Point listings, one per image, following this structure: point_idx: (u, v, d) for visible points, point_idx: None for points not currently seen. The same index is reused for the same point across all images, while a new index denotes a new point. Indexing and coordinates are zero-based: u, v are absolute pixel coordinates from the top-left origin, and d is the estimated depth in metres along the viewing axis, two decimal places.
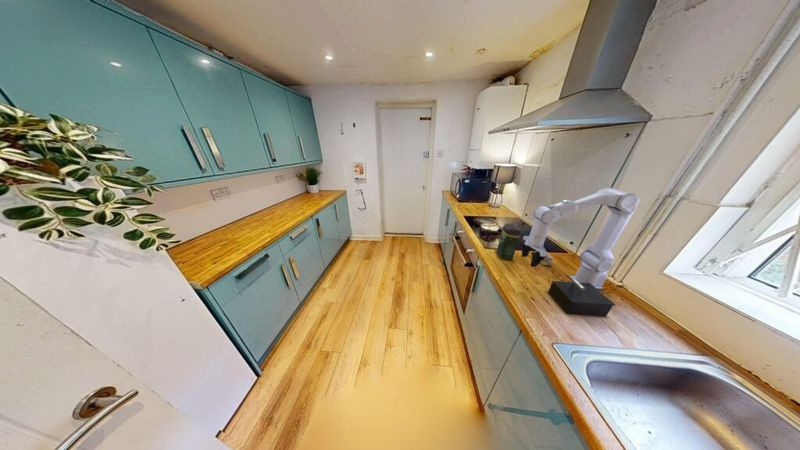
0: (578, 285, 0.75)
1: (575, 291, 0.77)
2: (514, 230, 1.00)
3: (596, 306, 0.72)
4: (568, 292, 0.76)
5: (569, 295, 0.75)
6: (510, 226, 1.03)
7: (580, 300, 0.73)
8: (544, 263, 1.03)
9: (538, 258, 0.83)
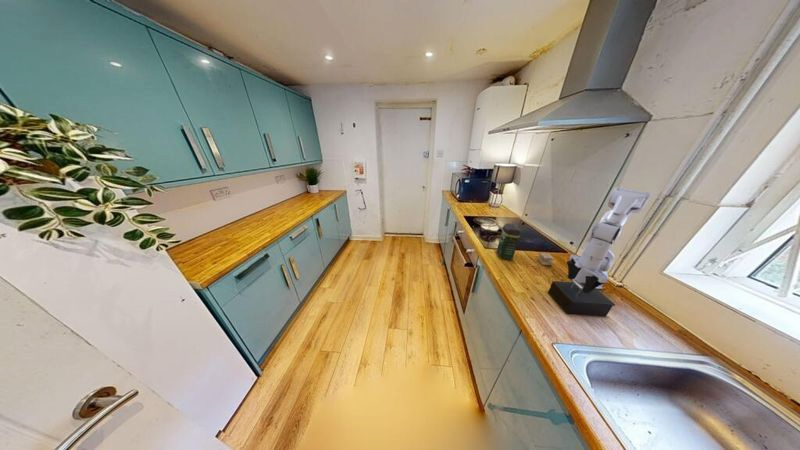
0: (578, 285, 0.75)
1: (575, 291, 0.77)
2: (514, 230, 1.00)
3: (596, 306, 0.72)
4: (568, 292, 0.76)
5: (569, 295, 0.75)
6: (510, 226, 1.03)
7: (580, 300, 0.73)
8: (544, 263, 1.03)
9: (593, 283, 0.70)
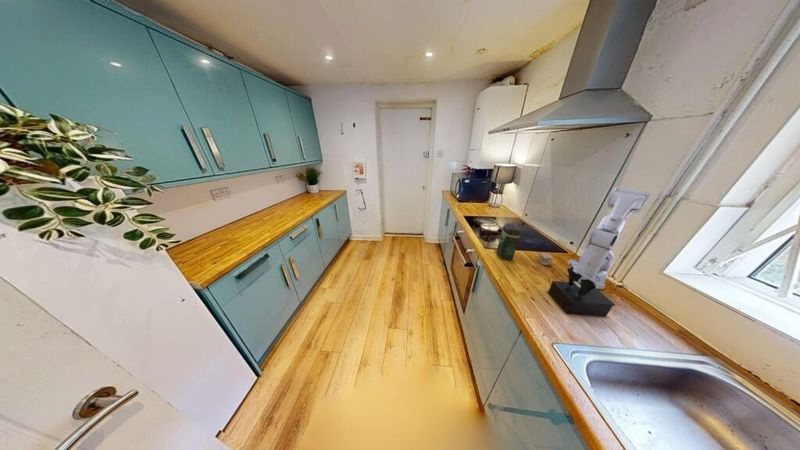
0: (578, 285, 0.75)
1: (575, 291, 0.77)
2: (514, 230, 1.00)
3: (596, 306, 0.72)
4: (568, 292, 0.76)
5: (569, 295, 0.75)
6: (510, 226, 1.03)
7: (580, 300, 0.73)
8: (544, 263, 1.03)
9: (588, 286, 0.72)
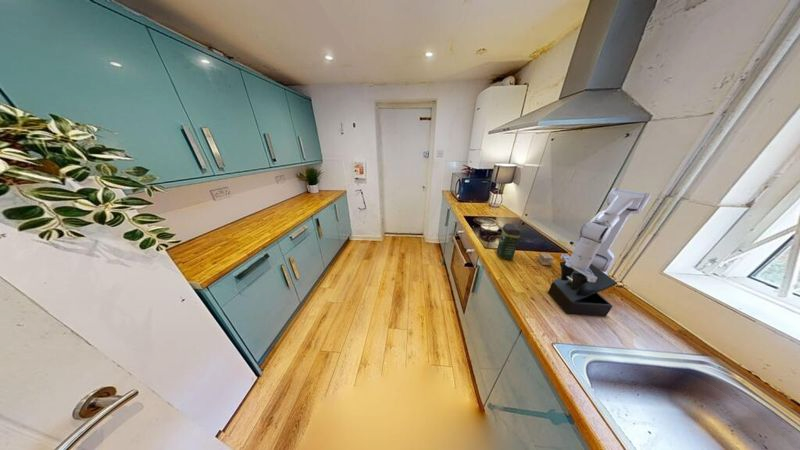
0: (570, 280, 0.75)
1: None
2: (514, 230, 1.00)
3: (596, 306, 0.72)
4: (567, 290, 0.76)
5: (568, 294, 0.75)
6: (510, 226, 1.03)
7: (579, 296, 0.72)
8: (544, 263, 1.03)
9: (580, 280, 0.71)
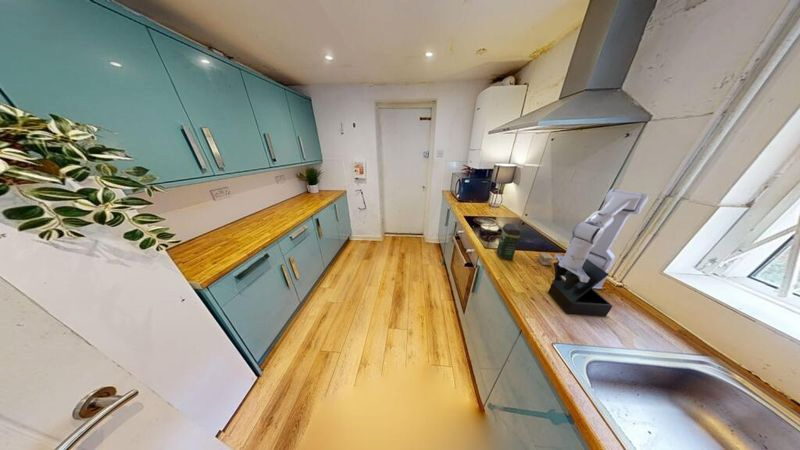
0: (564, 280, 0.75)
1: None
2: (514, 230, 1.00)
3: (596, 306, 0.72)
4: None
5: (567, 293, 0.75)
6: (510, 226, 1.03)
7: (577, 294, 0.72)
8: (544, 263, 1.03)
9: (573, 280, 0.72)
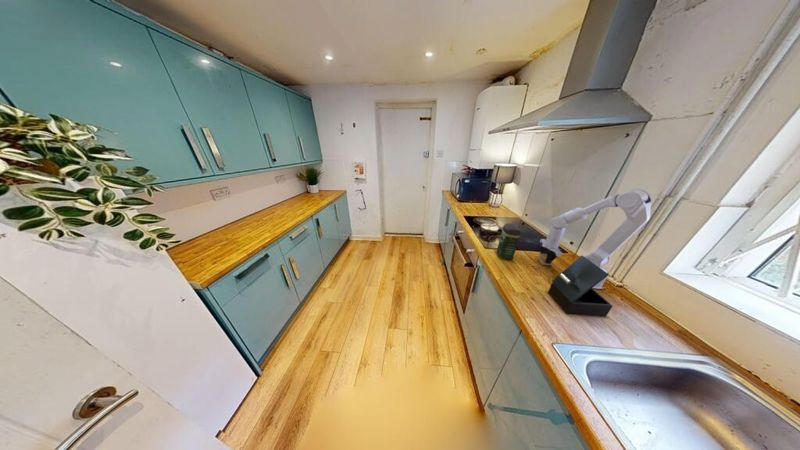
0: (564, 280, 0.75)
1: (571, 282, 0.75)
2: (514, 230, 1.00)
3: (596, 306, 0.72)
4: (566, 289, 0.76)
5: (567, 293, 0.75)
6: (510, 226, 1.03)
7: (577, 294, 0.72)
8: (544, 263, 1.03)
9: (552, 256, 1.01)
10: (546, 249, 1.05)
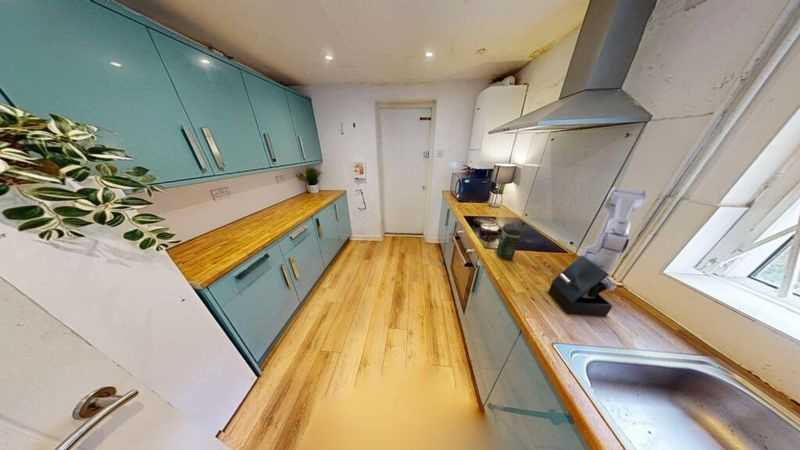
0: (564, 280, 0.75)
1: (571, 282, 0.75)
2: (514, 230, 1.00)
3: (596, 306, 0.72)
4: (566, 289, 0.76)
5: (567, 293, 0.75)
6: (510, 226, 1.03)
7: (577, 294, 0.72)
8: (586, 296, 0.77)
9: (599, 288, 0.75)
10: None
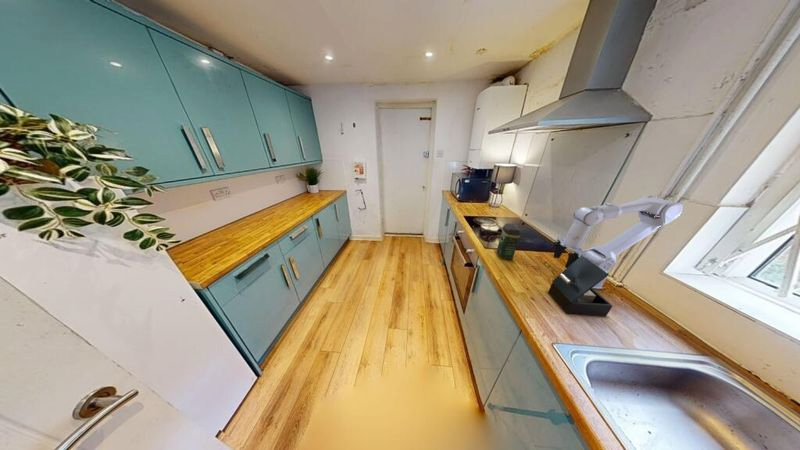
0: (564, 280, 0.75)
1: (571, 282, 0.75)
2: (514, 230, 1.00)
3: (596, 306, 0.72)
4: (566, 289, 0.76)
5: (567, 293, 0.75)
6: (510, 226, 1.03)
7: (577, 294, 0.72)
8: (582, 301, 0.79)
9: (574, 259, 0.82)
10: (562, 247, 0.89)
